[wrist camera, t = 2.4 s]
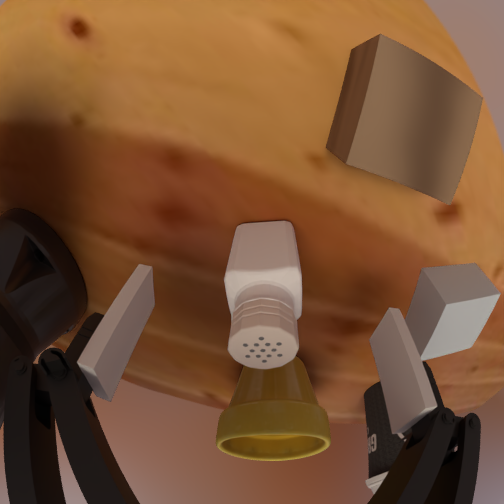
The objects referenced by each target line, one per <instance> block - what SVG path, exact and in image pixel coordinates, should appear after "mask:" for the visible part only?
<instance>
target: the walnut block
mask: <svg viewBox="0 0 504 504" xmlns="http://www.w3.org/2000/svg"><path fill="white" fill-rule="evenodd" d="M482 100H483V98H482V97H481V96H480V95H479V94H477V93H476V92H475V91H474V90H472V89H471V88H470V87H469V86H467V85H466V84H465V83H463V82H462V81H461V80H459V79H458V78H456V77H455V76H454V75H452V74H451V73H449V72H448V71H446V70H445V69H443V68H442V67H440V66H439V65H437V64H436V63H434V62H432V61H431V60H429V59H427V58H426V57H424V56H422V55H421V54H419V53H417V52H415V51H414V50H412V49H410V48H408V47H406V46H404V45H402V44H400V43H399V42H397V41H395V40H392V39H390V38H388V37H386V36H384V35H382V34H379V35H377V36H375V37H373V38H371V39H369V40H368V41H366V42H364V43H362V44H360V45H359V46H357V47H355V48H353V49H352V50H351V54H350V58H349V62H348V66H347V70H346V74H345V78H344V82H343V86H342V90H341V93H340V97H339V101H338V105H337V108H336V112H335V116H334V119H333V123H332V127H331V130H330V134H329V137H328V141H327V144H326V148H327V149H328V150H330V151H331V152H332V153H333V154H335V155H336V156H337V157H338V158H339V159H341V160H342V161H343V162H344V163H345V164H348V165H351V166H354V167H357V168H360V169H362V170H365V171H368V172H371V173H374V174H377V175H379V176H382V177H385V178H387V179H390V180H392V181H395V182H398V183H400V184H403V185H405V186H408V187H410V188H412V189H415V190H417V191H419V192H422V193H424V194H426V195H429V196H431V197H433V198H435V199H437V200H440V201H442V202H444V203H446V204H448V205H450V204H451V202H452V199H453V197H454V194H455V192H456V189H457V187H458V184H459V181H460V179H461V176H462V173H463V170H464V167H465V164H466V161H467V158H468V155H469V152H470V148H471V145H472V142H473V138H474V134H475V131H476V127H477V123H478V118H479V114H480V110H481V105H482Z"/></svg>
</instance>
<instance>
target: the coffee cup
mask: <svg viewBox="0 0 504 504" xmlns="http://www.w3.org/2000/svg"><path fill="white" fill-rule="evenodd" d="M364 401H365V411H366V423H367V436H368V456H369V479H368V480H366V481H365V482H366V485H367V486H368V488H371V490H372V492H373V494H375V492H376V491H377V489H378V488H379V486H380V485H381V483H382V482H383V480H384V478H385V477H386V475H387V474H388V472H389V470H390V468H391V467H392V465H393V463H394V462H395V460H396V458H397V456H398V454H399V452H400V451H401V449H402V447H403V445H404V444H403V443H404V442H405V441H406V439H405V440H404V441H402V442H400V440H401V439H402V438H403V437H405V436H406V435H408V434H409V433H411V432H412V430H411V428H409V429H408V430H406V431H405V432H403V433H397V434H392V430H391V425H390V420H389V416H388V411H387V407H386V402H385V398H384V394H383V389H382V385H381V382H378V383H376V384H375V385H373V386H371V387H370V388H369V389H368V390H367V391H366V392H365V394H364Z"/></svg>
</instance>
